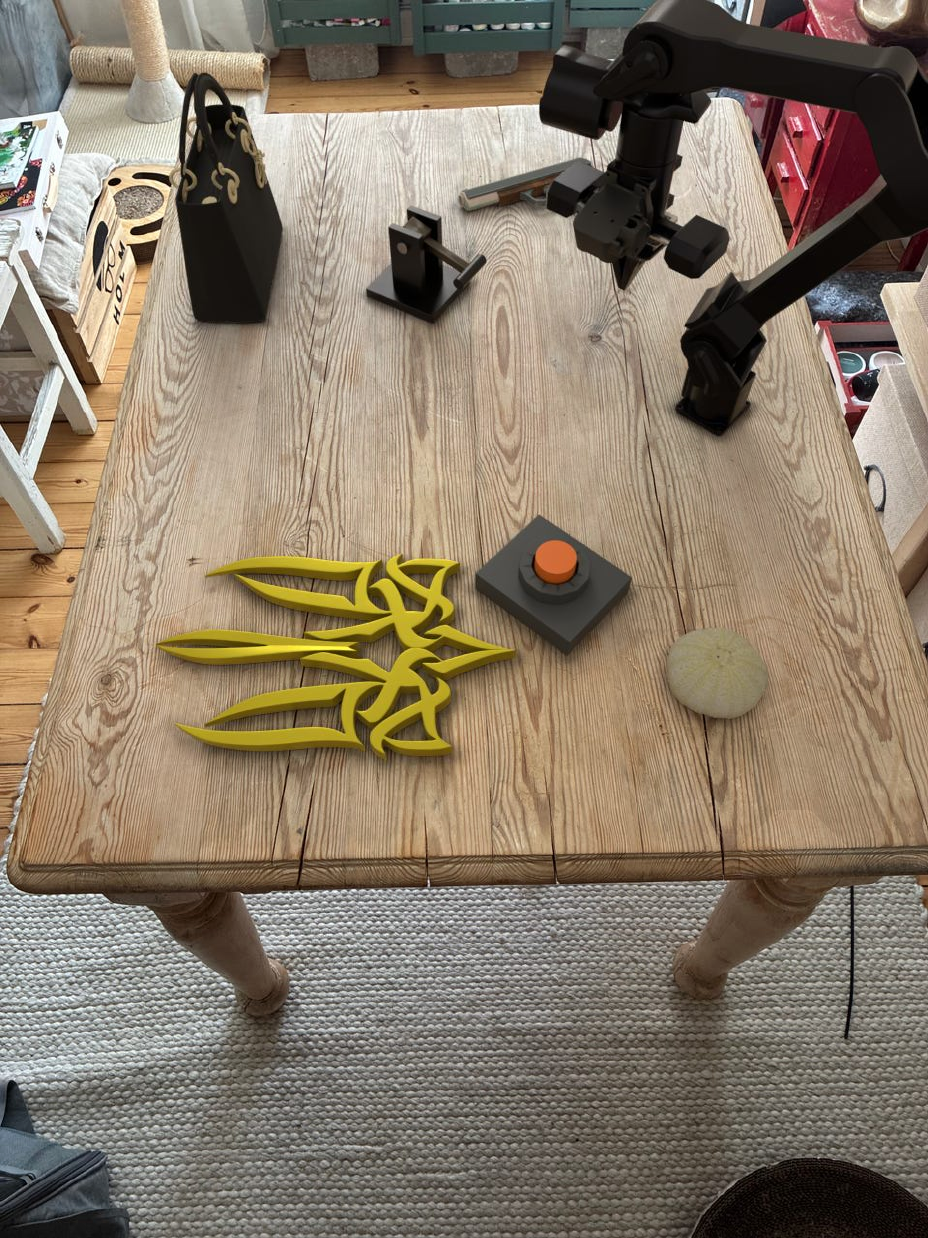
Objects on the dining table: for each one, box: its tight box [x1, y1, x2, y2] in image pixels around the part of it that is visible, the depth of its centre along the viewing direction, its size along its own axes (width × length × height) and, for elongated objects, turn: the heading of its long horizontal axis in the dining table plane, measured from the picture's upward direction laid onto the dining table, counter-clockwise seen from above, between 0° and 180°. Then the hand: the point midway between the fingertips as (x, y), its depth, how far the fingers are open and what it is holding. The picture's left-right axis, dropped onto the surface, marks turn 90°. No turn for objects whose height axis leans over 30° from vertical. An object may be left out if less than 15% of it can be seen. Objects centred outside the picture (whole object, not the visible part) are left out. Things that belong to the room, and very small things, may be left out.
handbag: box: [168, 72, 284, 324], centre depth 110 cm, size 21×9×25 cm, turn 179°
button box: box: [474, 514, 633, 657], centre depth 93 cm, size 12×10×4 cm
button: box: [535, 540, 577, 584], centre depth 91 cm, size 4×4×2 cm
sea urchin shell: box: [665, 626, 769, 720], centre depth 88 cm, size 9×8×8 cm
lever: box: [402, 217, 488, 290], centre depth 112 cm, size 10×6×2 cm, turn 59°
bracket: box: [365, 205, 471, 324], centre depth 115 cm, size 10×9×10 cm
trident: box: [155, 553, 517, 762], centre depth 90 cm, size 22×2×35 cm
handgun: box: [458, 157, 594, 213], centre depth 127 cm, size 2×20×12 cm
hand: (623, 287), depth 101 cm, fingers closed
